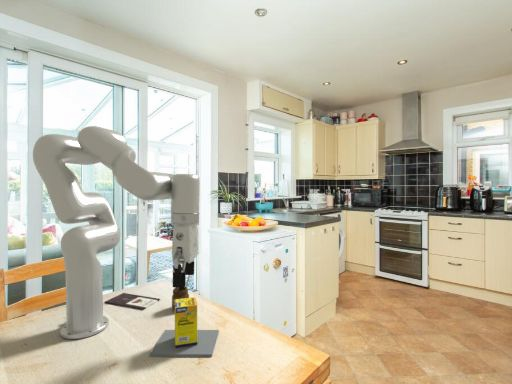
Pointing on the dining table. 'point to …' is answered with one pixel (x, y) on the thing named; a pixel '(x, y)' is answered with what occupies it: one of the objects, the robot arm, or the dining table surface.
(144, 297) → the chocolate bar
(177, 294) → the utensil holder
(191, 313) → the supplement box
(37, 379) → the dining table surface
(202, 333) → the gray mat
